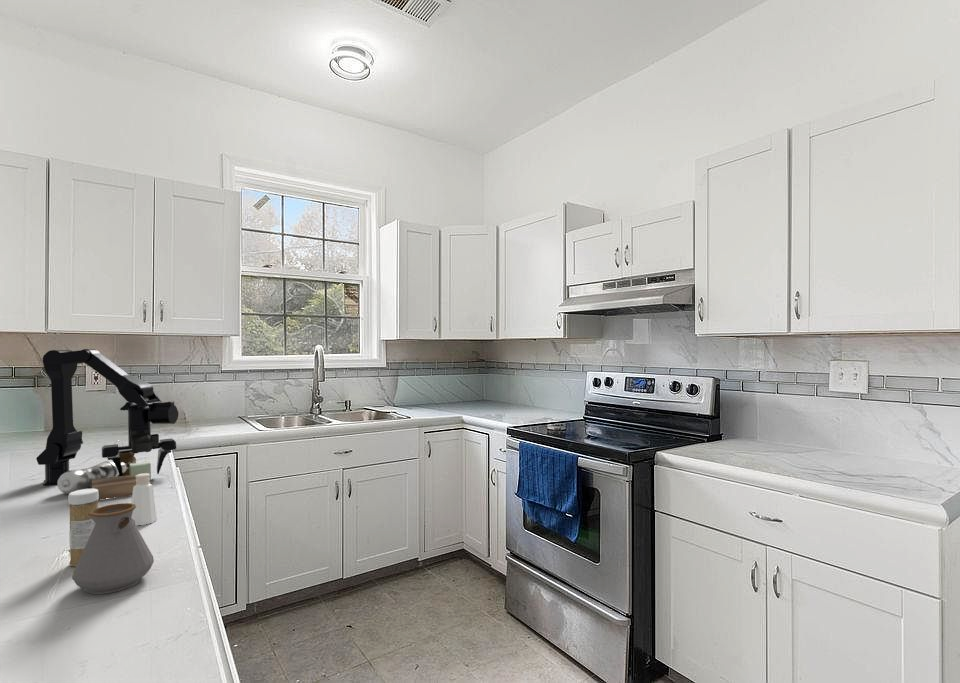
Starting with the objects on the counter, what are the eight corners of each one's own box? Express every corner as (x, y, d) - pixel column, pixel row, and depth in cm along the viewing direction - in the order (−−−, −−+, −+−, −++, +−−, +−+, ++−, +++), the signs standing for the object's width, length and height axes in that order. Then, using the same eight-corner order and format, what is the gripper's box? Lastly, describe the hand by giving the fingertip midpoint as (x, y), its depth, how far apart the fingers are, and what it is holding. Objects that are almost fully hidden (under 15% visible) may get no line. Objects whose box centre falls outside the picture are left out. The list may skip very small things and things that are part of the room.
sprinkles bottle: (79, 558, 102) (78, 488, 102) (104, 557, 103) (103, 487, 103) (63, 568, 98) (62, 495, 98) (89, 567, 98) (88, 494, 98)
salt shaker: (162, 519, 124) (162, 472, 124) (141, 527, 119) (140, 478, 119) (145, 517, 126) (144, 470, 126) (123, 524, 121) (122, 476, 121)
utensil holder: (109, 475, 167) (108, 437, 167) (129, 471, 173) (128, 434, 173) (121, 477, 165) (121, 438, 165) (141, 472, 171) (140, 435, 171)
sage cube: (129, 480, 162) (129, 463, 162) (149, 477, 165) (148, 461, 165) (131, 483, 158) (130, 466, 158) (150, 480, 161) (150, 464, 161)
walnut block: (92, 494, 148) (92, 480, 148) (135, 488, 154) (135, 474, 154) (91, 503, 140) (91, 487, 140) (137, 496, 145) (136, 481, 145)
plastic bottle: (74, 471, 145) (130, 456, 165) (52, 473, 145) (110, 457, 165) (76, 495, 145) (132, 477, 164) (53, 496, 145) (111, 478, 165)
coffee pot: (70, 582, 92) (68, 495, 92) (147, 563, 99) (146, 483, 99) (79, 633, 75) (78, 527, 75) (171, 606, 83) (170, 509, 83)
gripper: (102, 431, 149) (103, 487, 149) (178, 424, 160) (179, 476, 160) (101, 426, 158) (102, 479, 158) (173, 420, 169) (174, 469, 169)
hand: (140, 476), depth 161 cm, fingers open, 9 cm apart
